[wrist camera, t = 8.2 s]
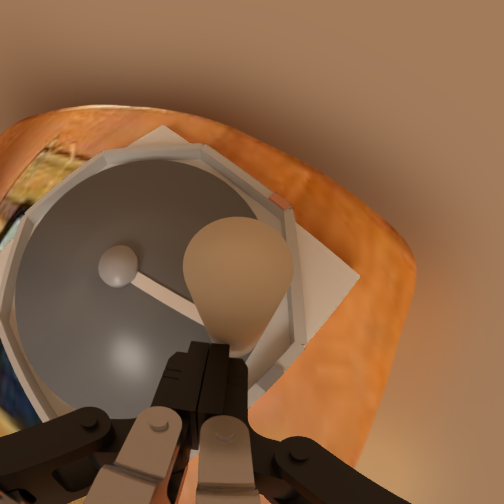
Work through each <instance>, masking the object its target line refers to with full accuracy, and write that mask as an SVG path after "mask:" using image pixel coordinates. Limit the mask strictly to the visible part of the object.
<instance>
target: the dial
mask: <svg viewBox="0 0 504 504" xmlns="http://www.w3.org/2000/svg"><path fill="white" fill-rule="evenodd" d="M293 270H294V265H293V258H292V254H291V251H290V249H289V247H288V245H287V243H286V241H285V240H284V239H283V237H282V236H281V235H280V234H279V233H278V232H277V231H276V230H275V229H273V228H272V227H270V226H269V225H267V224H265V223H263V222H261V221H259V220H258V219H257V217H256V215H255V214H254V212H253V211H252V209H251V208H250V207H249V205H248V204H247V202H246V201H245V200H244V199H243V198H242V197H241V196H240V195H239V194H238V193H237V192H236V191H235V190H234V189H233V188H232V187H231V186H229V185H228V184H227V183H226V182H224V181H223V180H221V179H220V178H218V177H216V176H215V175H213V174H211V173H209V172H207V171H205V170H203V169H200V168H198V167H195V166H191V165H188V164H185V163H180V162H174V161H166V160H142V161H135V162H129V163H125V164H121V165H117V166H114V167H111V168H108V169H106V170H103V171H100V172H98V173H96V174H94V175H92V176H90V177H88V178H87V179H85V180H83V181H82V182H80V183H79V184H77V185H76V186H74V187H73V188H72V189H70V190H69V191H68V192H67V193H65V194H64V195H63V196H62V197H61V198H60V199H59V200H58V201H57V202H56V203H55V204H54V205H53V206H52V207H51V208H50V209H49V210H48V212H47V213H46V214H45V215H44V217H43V218H42V219H41V221H40V222H39V224H38V225H37V227H36V228H35V230H34V232H33V234H32V235H31V237H30V239H29V241H28V243H27V246H26V248H25V250H24V253H23V256H22V259H21V262H20V265H19V269H18V274H17V279H16V287H15V316H16V322H17V328H18V333H19V336H20V339H21V343H22V346H23V348H24V351H25V353H26V355H27V357H28V359H29V361H30V363H31V365H32V366H33V368H34V370H35V371H36V373H37V374H38V376H39V377H40V378H41V380H42V381H43V382H44V383H45V384H46V385H47V387H48V388H49V389H50V390H51V391H52V392H53V393H55V394H56V395H57V396H58V397H59V398H60V399H61V400H63V401H64V402H66V403H67V404H69V405H70V406H72V407H73V408H75V409H79V408H82V407H88V406H91V407H97V408H100V409H102V410H103V411H105V412H106V413H107V414H108V416H109V418H110V419H132V418H136V417H138V415H139V414H140V413H141V412H142V411H143V410H145V409H147V408H150V406H151V403H152V401H153V398H154V395H155V393H156V390H157V387H158V385H159V382H160V379H161V378H162V374H163V372H164V370H165V367H166V364H167V361H168V359H169V358H170V357H171V356H172V355H173V354H175V353H176V352H177V351H178V352H185V353H188V349H189V346H190V343H191V341H199V342H207V343H210V344H211V343H217V344H227V345H230V353H229V358H241V359H243V360H244V362H245V363H246V361H247V359H248V358H249V356H250V354H251V353H252V351H253V349H254V348H255V346H256V344H257V343H258V341H259V339H260V338H261V336H262V334H263V333H264V331H265V329H266V327H267V326H268V324H269V322H270V321H271V319H272V317H273V315H274V314H275V312H276V310H277V308H278V307H279V305H280V303H281V301H282V300H283V298H284V296H285V294H286V292H287V291H288V289H289V287H290V284H291V282H292V278H293Z"/></svg>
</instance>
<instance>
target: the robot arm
mask: <svg viewBox="0 0 504 504" xmlns="http://www.w3.org/2000/svg"><path fill="white" fill-rule="evenodd" d="M229 353H230V345H227V344H217V343H211V344H210V343H207V342H199V341H191V343H190V346H189V349H188V353H185V352H178V351H177V352H176V353H175V354H173V355H172V356H171V357H170V358H169V359H168V361H167V364H166V367H165V370H164V372H163V374H162V378H161V379H160V382H159V385H158V387H157V390H156V393H155V395H154V398H153V401H152V403H151V406H150V408H147V409H145V410H143V411H142V412H141V413H140V414H139V415H138V417H136V418H132V419H110V418H109V416H108V414H107V413H106V412H105V411H103V410H102V409H100V408H97V407H91V406H88V407H82V408H79V409H77V410H75V411H72V412H70V413H67V414H65V415H62V416H60V417H57V418H54V419H52V420H49V421H47V422H44V423H41V424H38V425H36V426H33V427H30V428H27V429H24V430H21V431H18V432H15V433H12V434H9V435H6V436H3V437H0V504H67V503H70V502H72V501H74V500H77V499H79V498H82V497H84V496H86V495H87V496H86V498H85V500H84V502H83V504H178V502H179V498H180V495H181V491H182V488H183V484H184V480H185V477H186V473H187V470H188V462H189V458H190V452H191V449H192V450H198V449H199V468H198V486H197V489H196V504H261V502H260V496H259V494H262V495H264V497H265V498H266V499H267V500H268V501H269V502H270V503H271V504H411V503H409V502H407V501H406V500H404V499H402V498H400V497H398V496H396V495H395V494H393V493H391V492H390V491H388V490H386V489H384V488H383V487H381V486H379V485H378V484H376V483H375V482H373V481H372V480H370V479H368V478H367V477H365V476H364V475H362V474H360V473H359V472H357V471H356V470H355V469H353V468H352V467H350V466H349V465H347V464H346V463H344V462H343V461H341V460H340V459H339V458H337V457H336V456H334V455H333V454H332V453H330V452H329V451H327V450H326V449H325V448H323V447H322V446H321V445H319V444H318V443H317V442H315V441H314V440H312V439H310V438H307V437H302V436H294V437H289V438H286V439H284V440H282V441H281V442H279V441H275V440H272V439H268V438H265V437H263V436H261V435H259V434H257V433H256V432H255V431H254V430H253V429H252V428H251V427H250V425H249V422H248V367H247V365H246V363H245V362H244V360H243V359H241V358H229ZM199 446H200V448H199Z"/></svg>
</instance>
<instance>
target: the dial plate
mask: <svg viewBox="0 0 504 504" xmlns="http://www.w3.org/2000/svg"><path fill="white" fill-rule="evenodd" d="M142 160H166V161H174V162H180V163H185V164H188V165H191V166H195V167H198V168H200V169H203V170H205V171H207V172H209V173H211V174H213V175H215V176H216V177H218V178H220V179H221V180H223V181H224V182H226V183H227V184H228V185H229V186H231V187H232V188H233V189H234V190H235V191H236V192H237V193H238V194H239V195H240V196H241V197H242V198H243V199H244V200H245V201H246V202H247V204H248V205H249V207H250V208H251V209H252V211H253V212H254V214H255V215H256V217H257V219H258V220H259V221H261V222H263V223H265V224H267V225H269V226H270V227H272V228H273V229H275V230H276V231H277V232H278V233H279V234H280V235H281V236H282V237H283V239H284V240H285V241H286V243H287V245H288V247H289V249H290V251H291V254H292V258H293V265H294V270H293V278H292V282H291V284H290V287H289V289H288V291H287V292H286V294H285V296H284V298H283V300H282V301H281V303H280V305H279V307H278V308H277V310H276V312H275V314H274V315H273V317H272V319H271V321H270V322H269V324H268V326H267V327H266V329H265V331H264V333H263V334H262V336H261V338H260V339H259V341H258V343H257V344H256V346H255V348H254V349H253V351H252V353H251V354H250V356H249V358H248V359H247V361H246V365H247V367H248V409H249V408H250V407H251V406H252V405H253V404H254V403H255V402H256V401H257V400H258V399H259V398H260V397H261V396H262V395H263V394H264V393H265V392H266V391H267V390H268V389H269V388H270V387H271V386H272V385H273V384H274V383H275V382H276V381H277V380H278V379H279V378H280V377H281V376H282V375H283V373H284V372H285V371H286V370H287V369H288V367H289V366H290V365H291V364H292V363H293V362H294V361H295V360H296V359H297V358H298V356H299V355H300V354H301V353H302V352H303V351H304V350H305V347H304V346H305V345H306V344H307V343H308V342H309V341H310V340H311V338H312V337H313V336H314V335H315V334H316V332H317V331H318V330H319V329H320V328H321V326H322V325H323V324H324V323H325V322H326V320H327V319H328V318H329V317H330V316H331V314H332V313H333V312H334V311H335V309H336V308H337V307H338V305H339V304H340V303H341V302H342V300H343V299H344V298H345V296H346V295H347V294H348V293H349V291H350V290H351V289H352V287H353V286H354V285H355V283H356V282H357V281H358V279H359V278H360V277H361V276H360V275H359V274H358V273H356V272H355V271H354V270H353V269H352V268H351V267H349V266H348V265H347V264H346V263H345V262H344V261H342V260H341V259H340V258H339V257H338V256H336V255H335V254H334V253H333V252H332V251H331V250H329V249H328V248H327V247H326V246H325V245H323V244H322V243H321V242H320V241H318V240H317V239H316V238H315V237H314V236H312V235H311V234H310V233H309V232H307V231H306V230H305V229H304V228H303V227H301V226H300V225H299V224H298V223H296V222H295V217H294V209H291V203H290V202H288V201H287V200H286V199H284V198H283V197H282V196H280V195H279V194H278V193H276V192H272V191H271V190H270V189H268V188H267V187H266V186H264V185H263V184H262V183H260V182H259V181H258V180H256V179H255V178H253V177H252V176H251V175H249V174H248V173H247V172H245V171H244V170H242V169H241V168H240V167H238V166H237V165H235V164H234V163H233V162H231V161H230V160H228V159H227V158H225V157H224V156H223V155H221V154H220V153H218V152H217V151H215V150H214V149H212V148H211V147H210V146H208V145H207V144H205V145H203V143H189V142H188V141H187V140H185V139H184V138H182V137H181V136H179V135H178V134H176V133H175V132H173V131H172V130H171V129H169V128H168V127H166V126H165V125H162V126H160V127H158V128H157V129H155V130H153V131H151V132H150V133H148V134H146V135H145V136H143V137H141V138H140V139H138V140H136V141H135V142H133V143H131V144H130V145H128V146H127V147H125V148H117V149H108V150H104V153H103V152H102V151H101V152H100V153H98V154H97V155H95V156H94V157H93V158H91V159H90V160H88V161H87V162H86V163H84V164H83V165H81V166H80V167H79V168H77V169H76V170H75V171H73V172H72V173H71V174H69V175H68V176H67V177H66V178H64V179H63V180H62V181H61V182H59V183H58V184H57V185H56V186H54V187H53V188H52V189H51V190H50V191H49V192H47V193H46V194H45V195H44V196H43V197H42V198H40V199H39V200H38V201H37V202H36V203H35V204H34V205H33V206H31V207H30V208H29V209H28V210H27V211H26V212H25V216H22V219H21V221H20V224H19V226H18V229H17V232H16V235H15V237H14V238H13V239H12V240H11V241H10V242H9V243H8V244H7V245H6V246H5V248H4V249H3V250H2V251H1V252H0V338H1V340H2V343H3V346H4V348H5V350H6V353H7V355H8V358H9V360H10V362H11V364H12V367H13V369H14V371H15V373H16V375H17V377H18V379H19V381H20V383H21V385H22V387H23V389H24V391H25V393H26V395H27V397H28V398H29V400H30V402H31V404H32V405H33V407H34V409H35V411H36V412H37V414H38V416H39V417H40V419H41V420H42V422H43V423H44V422H47V421H49V420H52V419H54V418H57V417H60V416H62V415H65V414H67V413H70V412H72V411H75V410H77V409H75V408H73V407H72V406H70V405H69V404H67V403H66V402H64V401H63V400H61V399H60V398H59V397H58V396H57V395H56V394H55V393H53V392H52V391H51V390H50V389H49V388H48V387H47V385H46V384H45V383H44V382H43V381H42V380H41V378H40V377H39V376H38V374H37V373H36V371H35V370H34V368H33V366H32V365H31V363H30V361H29V359H28V357H27V355H26V353H25V351H24V348H23V346H22V343H21V339H20V336H19V333H18V328H17V322H16V316H15V287H16V279H17V274H18V269H19V265H20V262H21V259H22V256H23V253H24V250H25V248H26V246H27V243H28V241H29V239H30V237H31V235H32V234H33V232H34V230H35V228H36V227H37V225H38V224H39V222H40V221H41V219H42V218H43V217H44V215H45V214H46V213H47V212H48V210H49V209H50V208H51V207H52V206H53V205H54V204H55V203H56V202H57V201H58V200H59V199H60V198H61V197H62V196H63V195H64V194H65V193H67V192H68V191H69V190H70V189H72V188H73V187H74V186H76V185H77V184H79V183H80V182H82V181H83V180H85V179H87V178H88V177H90V176H92V175H94V174H96V173H98V172H100V171H103V170H106V169H108V168H111V167H114V166H117V165H121V164H125V163H129V162H135V161H142ZM199 448H200V446H199ZM198 453H199V449H198V450H192V449H191V452H190V459H192V458H194V457H195V456H196V455H197V454H198Z"/></svg>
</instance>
